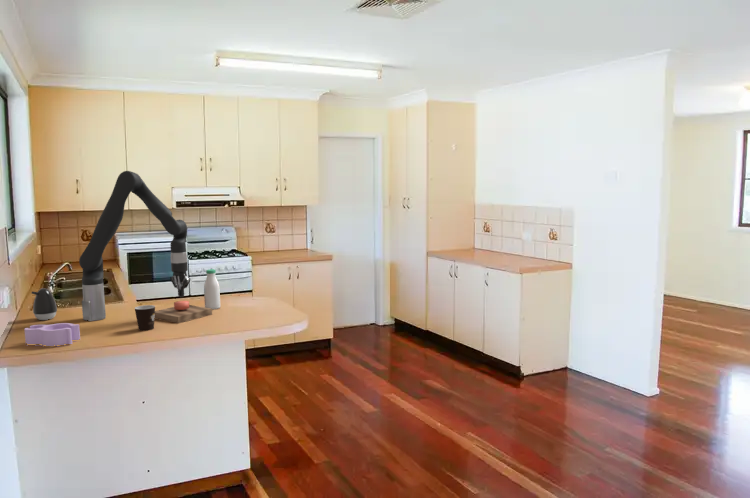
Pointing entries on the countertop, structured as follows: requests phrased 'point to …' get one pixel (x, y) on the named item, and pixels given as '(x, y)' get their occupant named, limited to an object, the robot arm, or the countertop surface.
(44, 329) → the purple low wavy piece
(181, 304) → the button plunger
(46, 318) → the pump dispenser
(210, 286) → the milk bottle
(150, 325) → the coffee mug
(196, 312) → the wooden cutting board
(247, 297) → the countertop surface
